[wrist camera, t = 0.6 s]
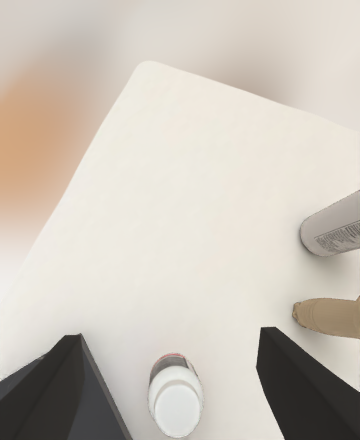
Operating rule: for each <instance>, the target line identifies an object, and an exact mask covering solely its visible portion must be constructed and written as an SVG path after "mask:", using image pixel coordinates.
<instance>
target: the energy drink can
mask: <svg viewBox="0 0 360 440" xmlns="http://www.w3.org/2000/svg"><path fill="white" fill-rule="evenodd" d="M301 239H302V242H303V243H304V245H305V246H306V247H307V248H308V250H310V251H311V252H312V253H314V254H316V255H319V256H331V255H335V254H339V253H343V252H347V251H351V250H355V249H360V190H358V191H356V192H355V193H353V194H351V195H349V196H347V197H345V198H343V199H341V200H340V201H338V202H336V203H334V204H332V205H330V206H328V207H327V208H325V209H323V210H321V211H319V212H317V213H315V214H314V215H312V216H310V217H308V218H307V219H306V220H305V221H304V222H303V224H302V226H301Z"/></svg>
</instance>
